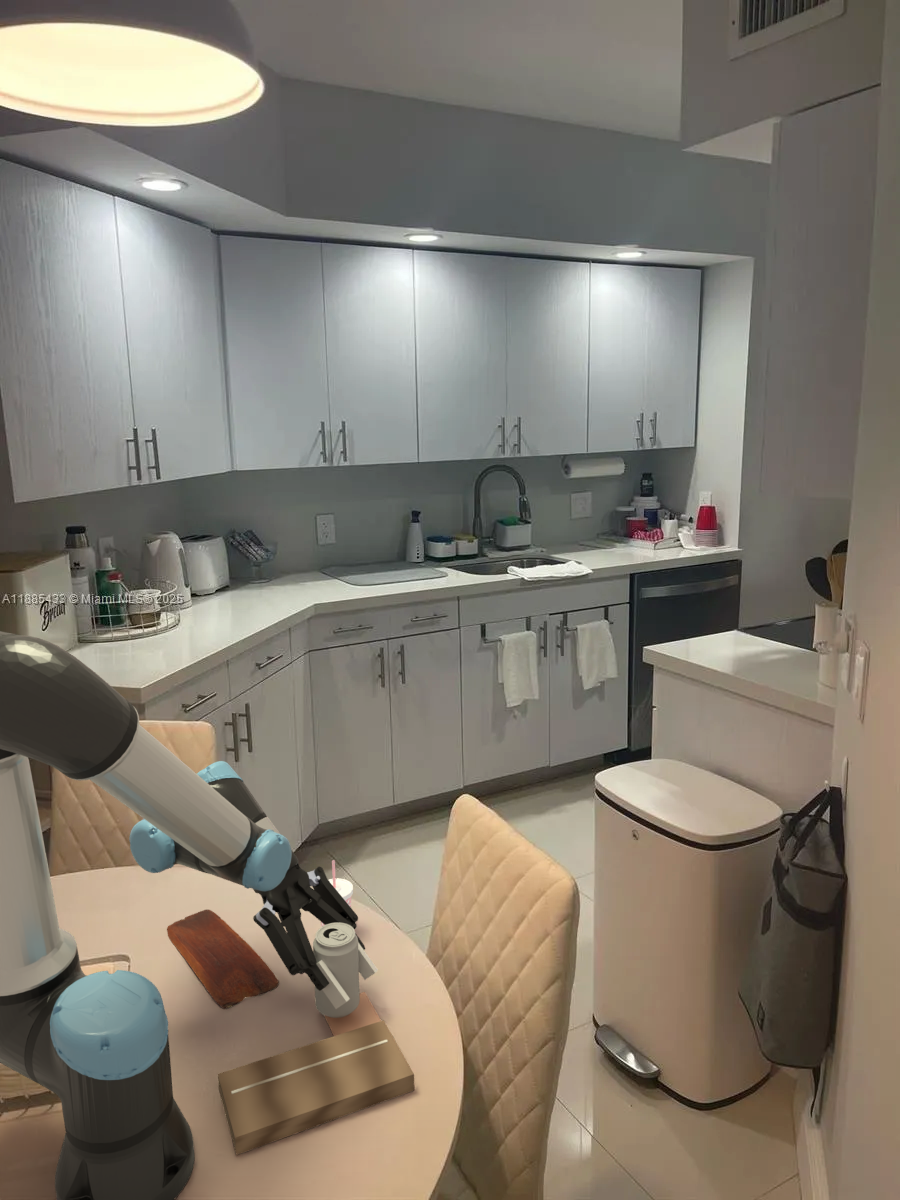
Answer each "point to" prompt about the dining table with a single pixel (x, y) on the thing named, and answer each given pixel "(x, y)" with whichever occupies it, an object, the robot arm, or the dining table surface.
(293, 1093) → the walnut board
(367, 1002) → the end tile
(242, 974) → the wooden tablet
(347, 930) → the beverage can
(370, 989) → the dining table surface
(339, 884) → the beverage cup
